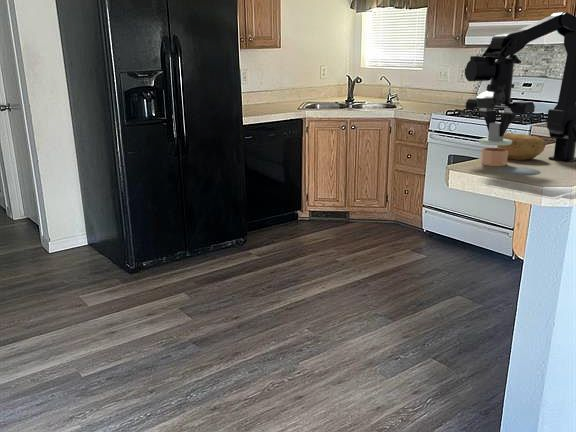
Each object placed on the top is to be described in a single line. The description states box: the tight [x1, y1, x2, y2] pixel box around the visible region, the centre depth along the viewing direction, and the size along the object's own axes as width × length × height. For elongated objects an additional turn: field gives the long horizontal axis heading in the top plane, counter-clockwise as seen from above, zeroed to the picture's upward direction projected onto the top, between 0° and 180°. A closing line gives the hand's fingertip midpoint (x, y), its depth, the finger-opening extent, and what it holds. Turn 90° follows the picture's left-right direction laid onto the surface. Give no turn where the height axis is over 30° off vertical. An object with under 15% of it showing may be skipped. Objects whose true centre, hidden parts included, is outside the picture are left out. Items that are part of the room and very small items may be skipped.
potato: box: [496, 132, 546, 161], centre depth 169 cm, size 10×14×8 cm
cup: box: [479, 146, 509, 167], centre depth 163 cm, size 7×7×4 cm
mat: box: [497, 166, 542, 176], centre depth 153 cm, size 11×11×1 cm
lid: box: [478, 121, 512, 147], centre depth 161 cm, size 9×9×6 cm
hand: (496, 135), depth 161 cm, fingers closed on lid, 3 cm apart
